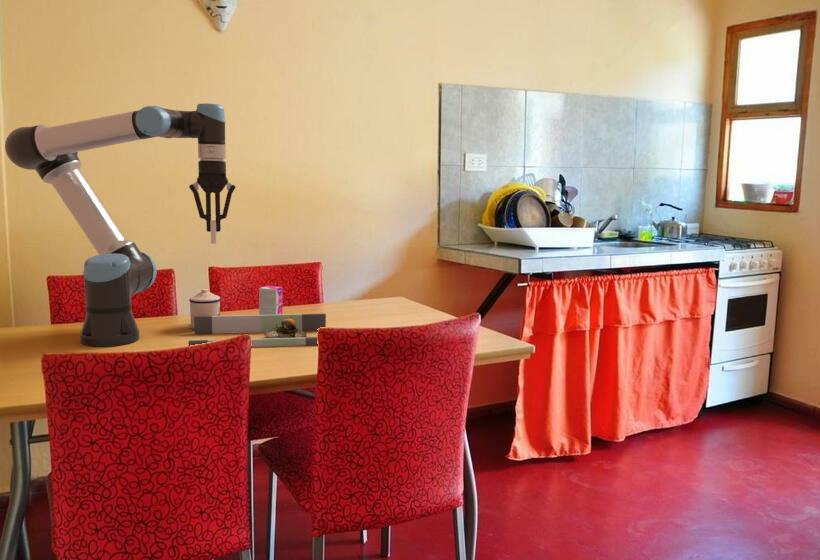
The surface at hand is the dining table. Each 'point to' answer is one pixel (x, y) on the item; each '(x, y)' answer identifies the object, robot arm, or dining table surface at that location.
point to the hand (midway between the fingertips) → (213, 243)
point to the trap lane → (259, 327)
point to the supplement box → (270, 300)
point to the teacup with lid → (204, 305)
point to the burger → (286, 330)
